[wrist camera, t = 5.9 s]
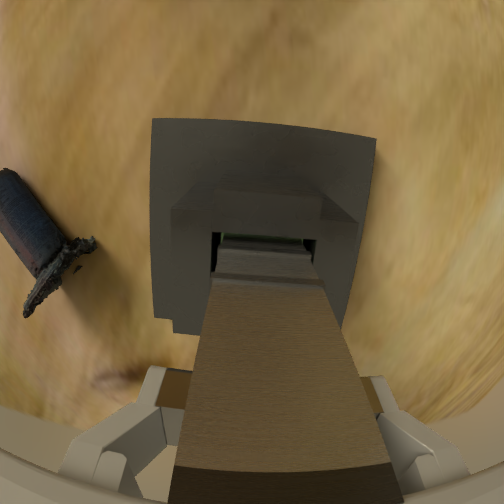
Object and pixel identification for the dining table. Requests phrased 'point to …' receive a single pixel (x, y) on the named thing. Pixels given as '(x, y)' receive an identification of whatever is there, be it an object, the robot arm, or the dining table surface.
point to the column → (276, 391)
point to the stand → (251, 203)
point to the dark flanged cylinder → (36, 239)
